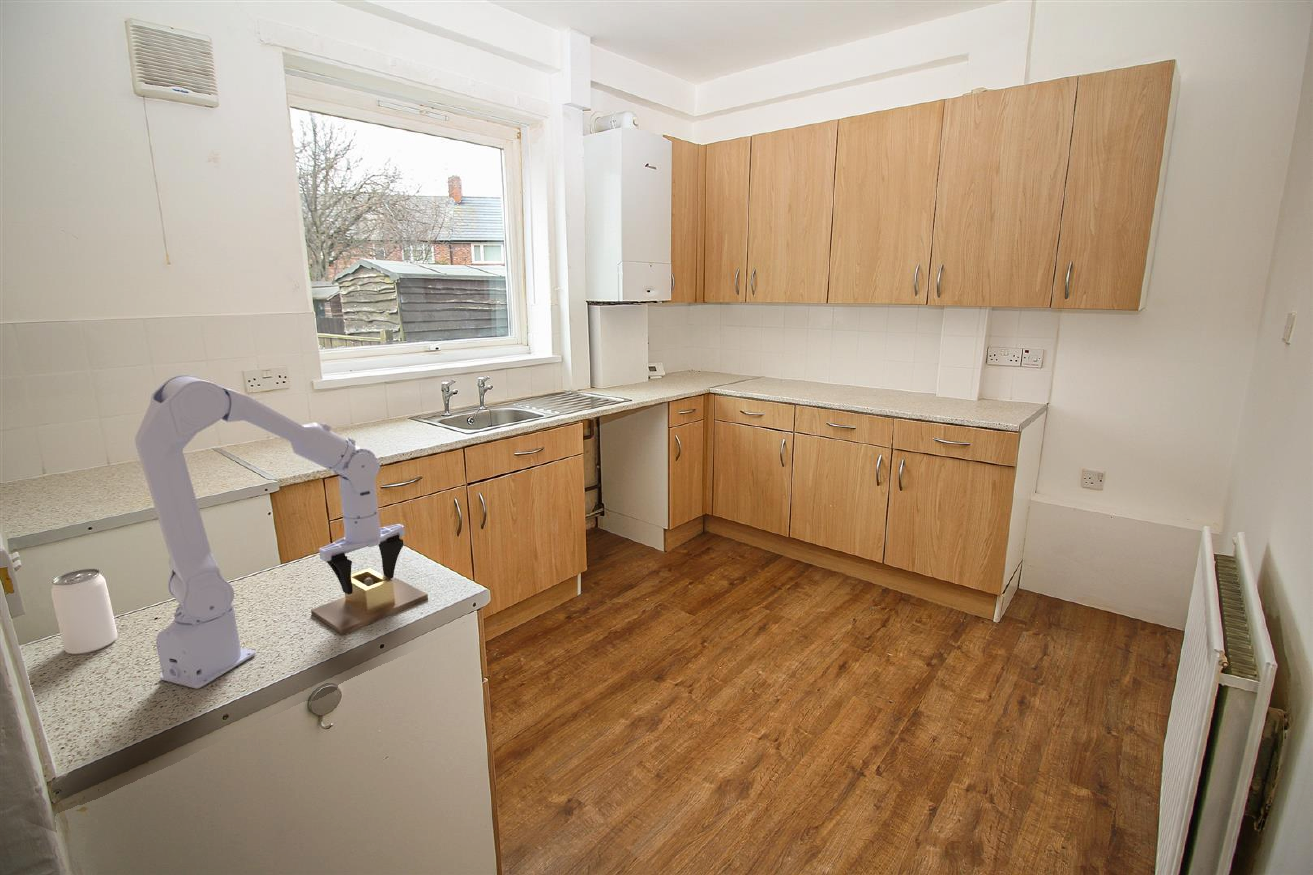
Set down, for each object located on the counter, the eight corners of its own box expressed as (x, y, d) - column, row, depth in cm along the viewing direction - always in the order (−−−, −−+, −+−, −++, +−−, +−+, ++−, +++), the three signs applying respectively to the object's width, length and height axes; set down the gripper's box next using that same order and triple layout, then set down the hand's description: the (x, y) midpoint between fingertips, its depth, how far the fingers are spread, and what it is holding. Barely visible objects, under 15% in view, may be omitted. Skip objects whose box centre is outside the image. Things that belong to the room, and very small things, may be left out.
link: (394, 602, 113) (392, 580, 112) (368, 614, 109) (365, 590, 108) (372, 590, 118) (369, 568, 117) (345, 600, 114) (342, 577, 113)
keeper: (342, 635, 104) (338, 604, 103) (311, 614, 111) (307, 585, 109) (428, 599, 117) (425, 570, 115) (395, 582, 123) (393, 555, 122)
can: (128, 634, 104) (114, 568, 102) (90, 657, 98) (74, 586, 95) (93, 632, 105) (78, 566, 102) (53, 654, 99) (36, 584, 96)
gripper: (329, 530, 102) (339, 606, 105) (411, 506, 113) (417, 576, 116) (309, 521, 106) (319, 594, 109) (390, 498, 117) (397, 566, 120)
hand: (368, 584), depth 113 cm, fingers open, 7 cm apart
